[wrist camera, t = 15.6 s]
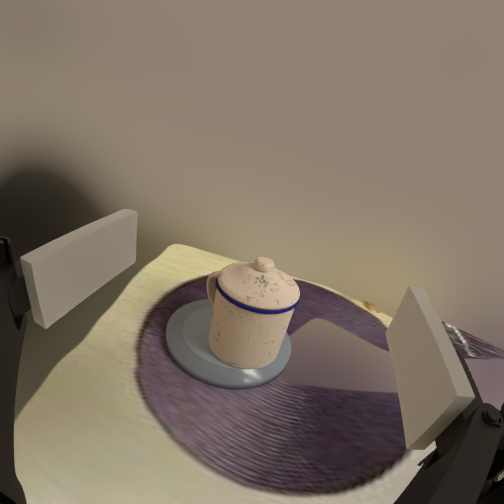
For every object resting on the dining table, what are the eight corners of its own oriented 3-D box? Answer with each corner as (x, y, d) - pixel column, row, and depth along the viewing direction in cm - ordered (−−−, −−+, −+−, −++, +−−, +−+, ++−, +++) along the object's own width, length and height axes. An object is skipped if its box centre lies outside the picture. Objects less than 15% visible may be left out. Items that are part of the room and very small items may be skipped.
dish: (294, 324, 42) (296, 317, 42) (279, 405, 28) (282, 398, 27) (193, 293, 44) (194, 286, 44) (142, 358, 29) (142, 350, 29)
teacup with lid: (293, 350, 35) (324, 270, 30) (243, 384, 28) (271, 294, 23) (228, 303, 41) (244, 228, 37) (176, 323, 35) (185, 237, 30)
